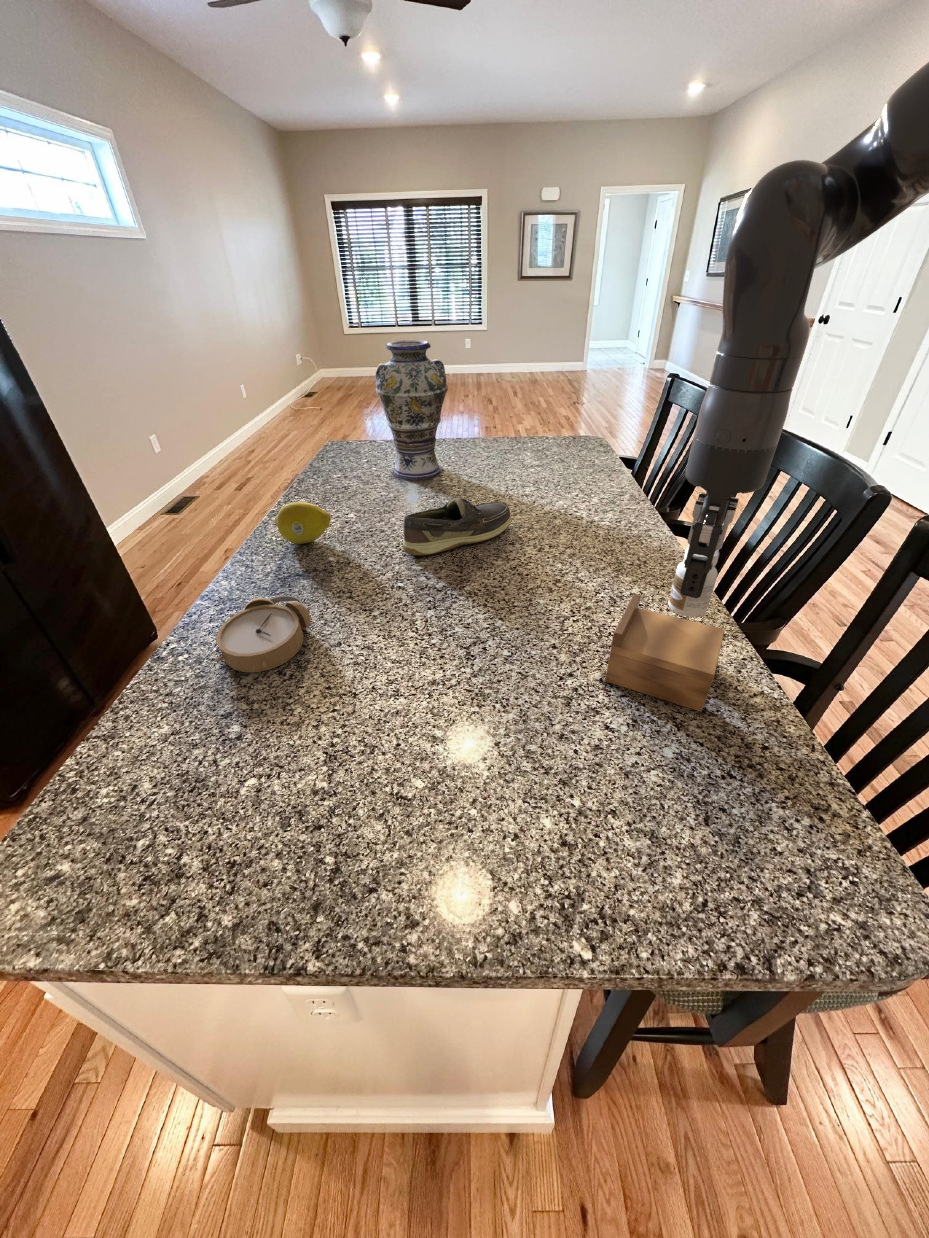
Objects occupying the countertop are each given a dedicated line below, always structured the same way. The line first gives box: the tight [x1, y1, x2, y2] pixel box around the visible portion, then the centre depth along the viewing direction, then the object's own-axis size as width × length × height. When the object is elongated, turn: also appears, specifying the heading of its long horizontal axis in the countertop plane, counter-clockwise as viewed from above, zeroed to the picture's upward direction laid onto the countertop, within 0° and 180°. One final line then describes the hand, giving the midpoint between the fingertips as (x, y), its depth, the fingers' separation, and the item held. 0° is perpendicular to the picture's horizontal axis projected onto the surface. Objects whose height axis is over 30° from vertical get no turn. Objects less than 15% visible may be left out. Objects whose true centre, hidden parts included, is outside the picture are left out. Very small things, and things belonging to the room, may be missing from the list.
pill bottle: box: [667, 544, 720, 618], centre depth 60 cm, size 4×4×8 cm
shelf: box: [604, 593, 726, 712], centre depth 66 cm, size 12×10×8 cm
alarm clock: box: [215, 595, 312, 673], centre depth 75 cm, size 11×5×15 cm
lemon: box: [274, 501, 331, 545], centre depth 100 cm, size 11×8×8 cm
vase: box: [374, 339, 449, 481], centre depth 126 cm, size 17×17×30 cm
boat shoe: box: [402, 497, 513, 556], centre depth 100 cm, size 9×25×8 cm, turn 130°
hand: (693, 584), depth 60 cm, fingers closed on pill bottle, 4 cm apart
